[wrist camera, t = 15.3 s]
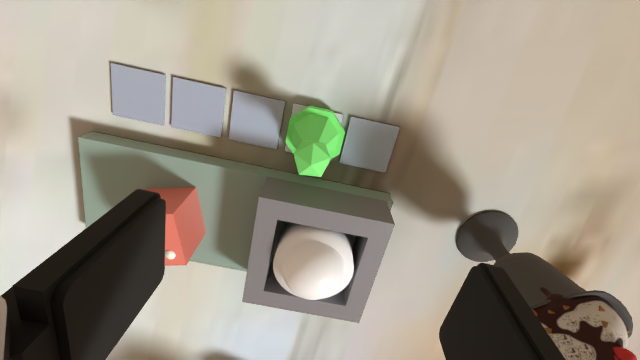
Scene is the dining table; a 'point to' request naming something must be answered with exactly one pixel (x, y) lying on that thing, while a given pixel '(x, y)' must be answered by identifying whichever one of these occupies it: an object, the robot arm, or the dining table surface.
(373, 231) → the board
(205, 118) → the track
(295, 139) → the game piece
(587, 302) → the sundae
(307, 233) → the dome
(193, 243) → the die
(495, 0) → the dining table surface
